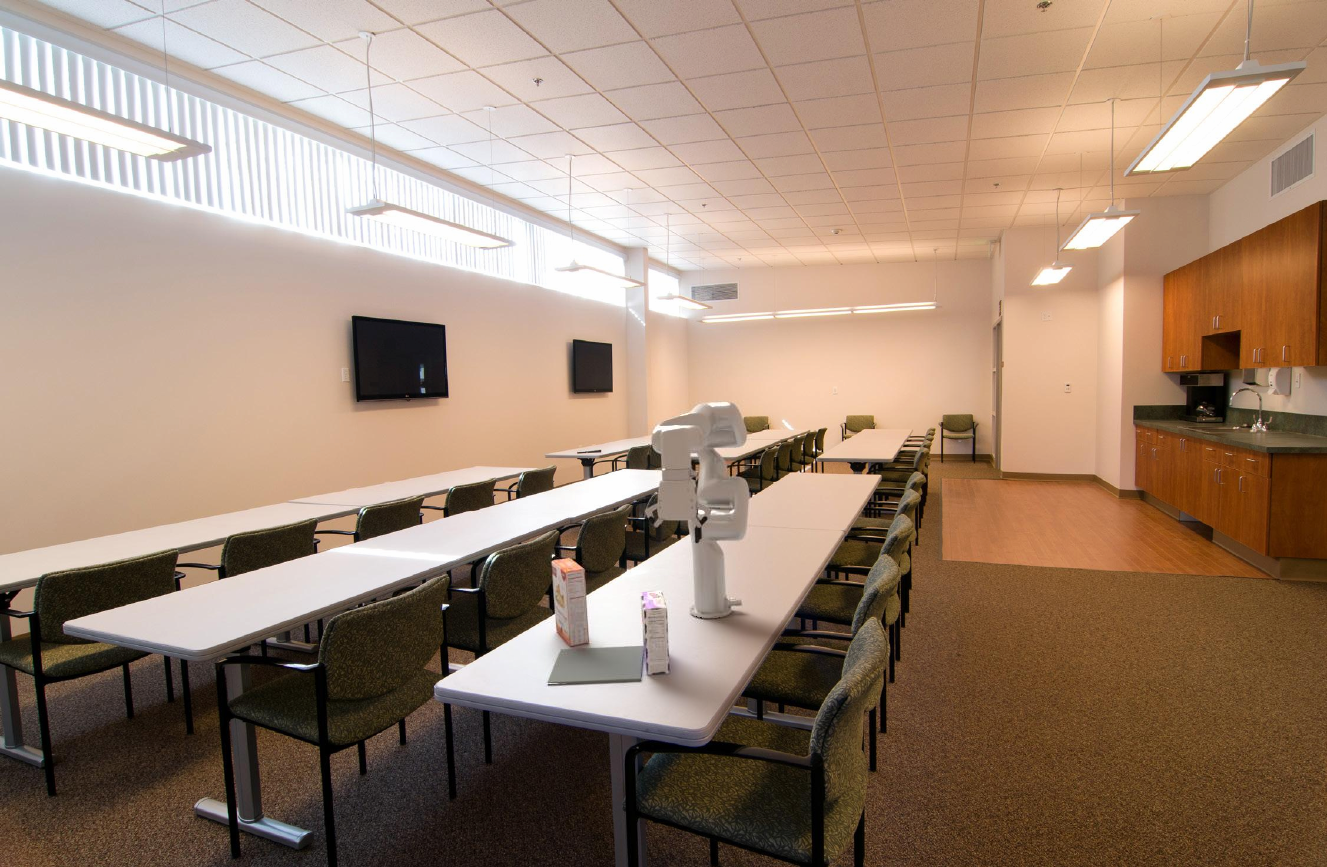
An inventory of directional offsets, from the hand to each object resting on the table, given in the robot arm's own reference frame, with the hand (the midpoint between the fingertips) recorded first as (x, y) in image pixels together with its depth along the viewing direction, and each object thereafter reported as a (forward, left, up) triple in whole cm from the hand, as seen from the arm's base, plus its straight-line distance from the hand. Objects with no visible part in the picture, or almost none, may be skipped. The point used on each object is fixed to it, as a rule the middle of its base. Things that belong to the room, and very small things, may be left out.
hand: (679, 542), depth 172 cm
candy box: (+7, +6, -29) cm, 31 cm away
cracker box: (+31, -14, -29) cm, 45 cm away
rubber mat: (+22, +6, -29) cm, 37 cm away
